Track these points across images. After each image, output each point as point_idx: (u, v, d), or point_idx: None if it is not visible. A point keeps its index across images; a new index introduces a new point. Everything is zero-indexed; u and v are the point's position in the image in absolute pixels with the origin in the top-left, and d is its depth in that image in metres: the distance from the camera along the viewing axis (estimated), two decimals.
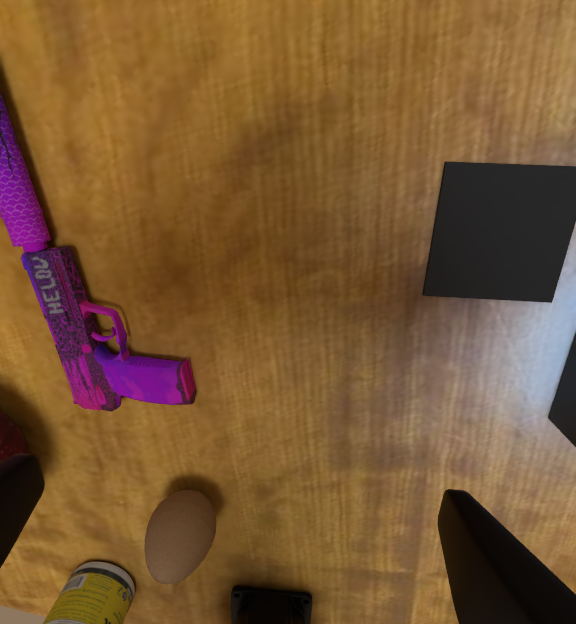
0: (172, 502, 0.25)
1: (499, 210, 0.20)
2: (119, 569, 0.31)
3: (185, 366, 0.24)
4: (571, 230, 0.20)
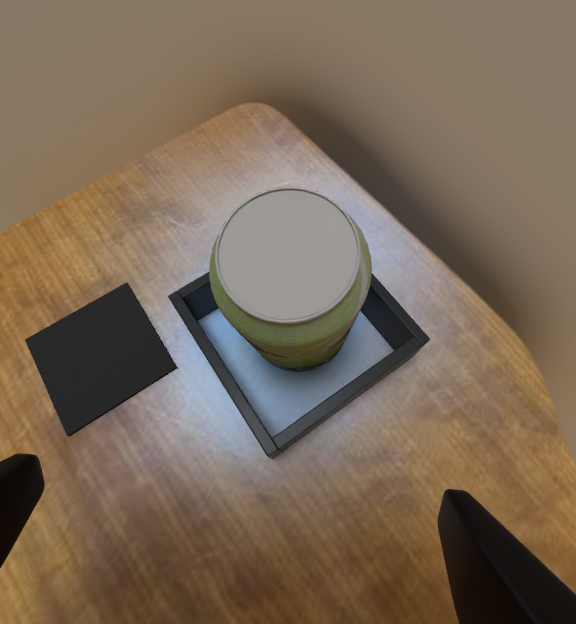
0: None
1: (84, 340, 0.24)
2: None
3: None
4: (145, 318, 0.24)
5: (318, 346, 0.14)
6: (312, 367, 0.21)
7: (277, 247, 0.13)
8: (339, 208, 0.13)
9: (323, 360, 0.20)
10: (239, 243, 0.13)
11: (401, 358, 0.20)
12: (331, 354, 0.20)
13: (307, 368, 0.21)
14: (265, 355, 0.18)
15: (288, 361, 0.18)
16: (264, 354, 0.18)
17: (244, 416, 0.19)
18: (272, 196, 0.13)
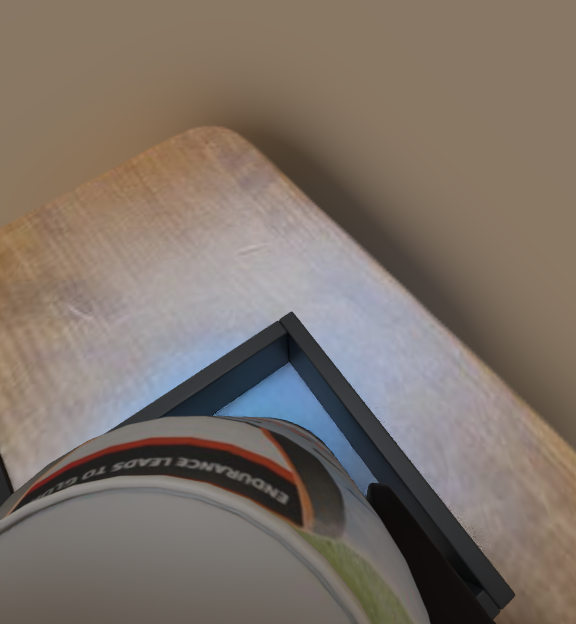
0: None
1: None
2: None
3: None
4: (7, 493, 0.14)
5: None
6: None
7: None
8: (335, 590, 0.03)
9: None
10: None
11: None
12: None
13: None
14: None
15: None
16: None
17: None
18: (80, 518, 0.04)
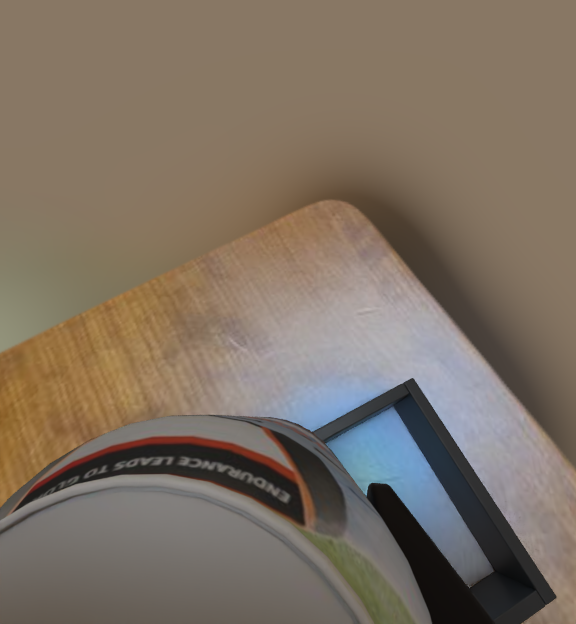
0: None
1: None
2: None
3: None
4: None
5: None
6: None
7: None
8: (337, 588, 0.03)
9: None
10: None
11: (518, 622, 0.15)
12: None
13: None
14: None
15: None
16: None
17: None
18: (83, 517, 0.04)
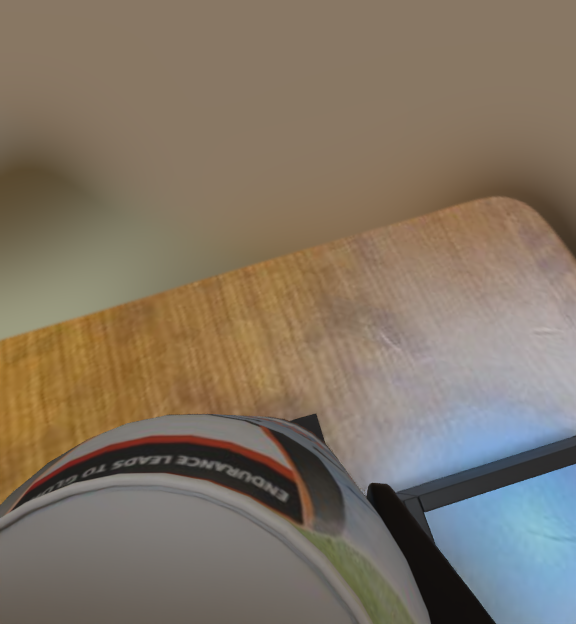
0: None
1: None
2: None
3: None
4: None
5: None
6: None
7: None
8: (335, 587, 0.03)
9: None
10: None
11: None
12: None
13: None
14: None
15: None
16: None
17: None
18: (80, 516, 0.04)
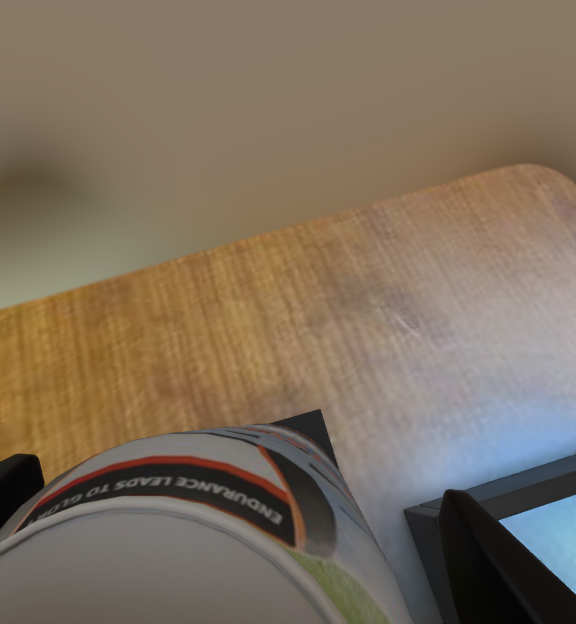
0: None
1: None
2: None
3: None
4: None
5: None
6: None
7: None
8: (323, 611, 0.03)
9: None
10: None
11: None
12: None
13: None
14: None
15: None
16: None
17: None
18: (84, 537, 0.04)
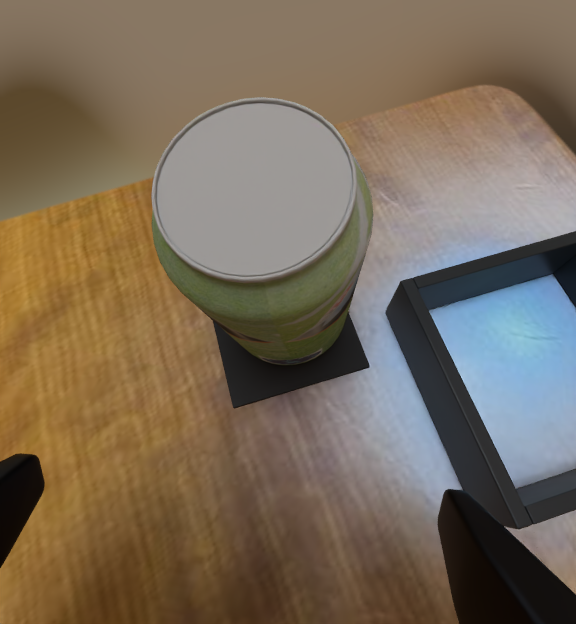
0: None
1: None
2: None
3: None
4: None
5: (303, 321, 0.11)
6: (304, 359, 0.17)
7: (238, 178, 0.09)
8: (325, 123, 0.09)
9: (316, 349, 0.16)
10: (186, 174, 0.09)
11: None
12: (326, 341, 0.16)
13: (298, 360, 0.17)
14: (242, 343, 0.15)
15: (270, 349, 0.14)
16: (240, 341, 0.14)
17: (489, 463, 0.14)
18: (232, 111, 0.10)
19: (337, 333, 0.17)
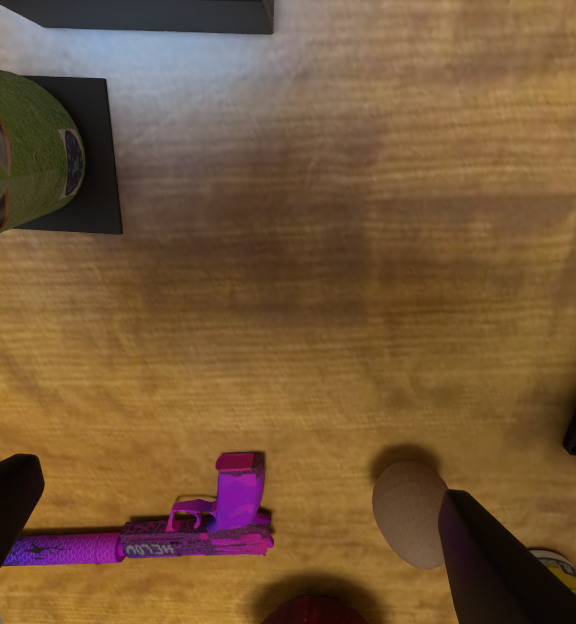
0: None
1: None
2: None
3: (227, 459, 0.24)
4: None
5: None
6: (74, 152, 0.17)
7: None
8: None
9: (56, 137, 0.15)
10: None
11: None
12: (43, 124, 0.15)
13: (75, 159, 0.17)
14: (25, 214, 0.15)
15: (28, 190, 0.14)
16: (20, 216, 0.14)
17: None
18: None
19: (44, 105, 0.15)
